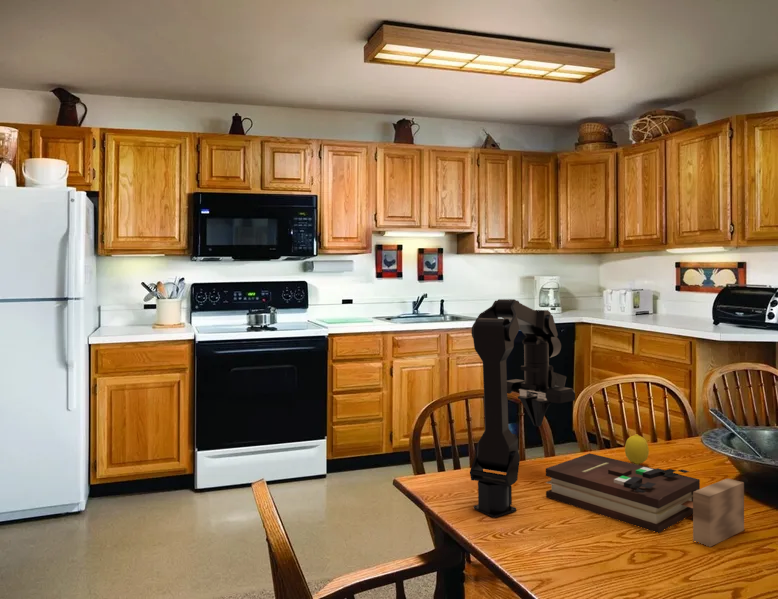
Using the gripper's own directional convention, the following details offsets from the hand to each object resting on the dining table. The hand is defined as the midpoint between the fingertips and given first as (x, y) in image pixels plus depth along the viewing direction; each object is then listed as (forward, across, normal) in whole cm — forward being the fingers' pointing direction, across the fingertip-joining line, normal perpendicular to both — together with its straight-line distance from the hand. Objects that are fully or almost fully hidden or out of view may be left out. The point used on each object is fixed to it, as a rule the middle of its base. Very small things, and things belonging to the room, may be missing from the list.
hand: (537, 425), depth 147 cm
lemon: (+12, -10, -25) cm, 30 cm away
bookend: (+12, -44, 0) cm, 45 cm away
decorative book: (+13, -23, 0) cm, 26 cm away
